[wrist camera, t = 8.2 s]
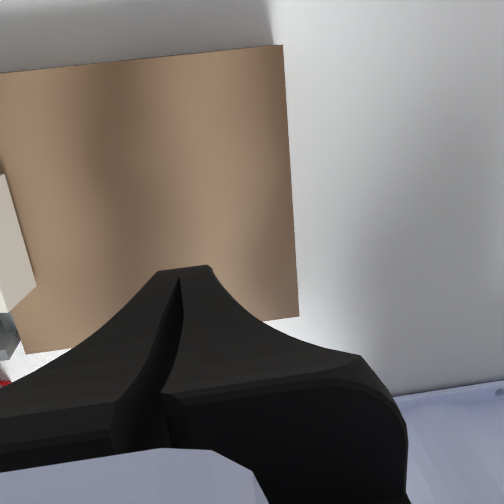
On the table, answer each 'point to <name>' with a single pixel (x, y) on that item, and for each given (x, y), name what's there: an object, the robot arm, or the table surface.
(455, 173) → the table surface
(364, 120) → the table surface
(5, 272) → the tile
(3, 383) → the stack of blocks
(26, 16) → the table surface
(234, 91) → the board
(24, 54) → the table surface
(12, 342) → the tray
